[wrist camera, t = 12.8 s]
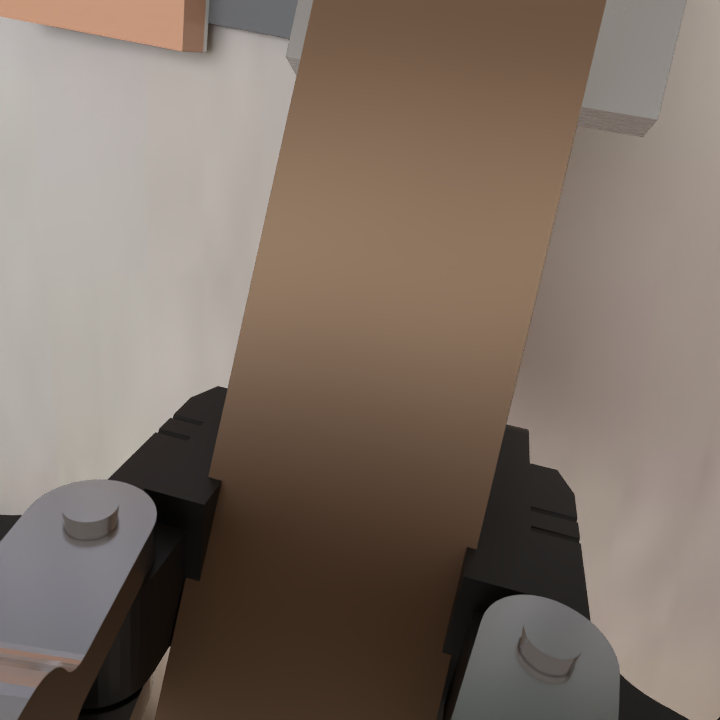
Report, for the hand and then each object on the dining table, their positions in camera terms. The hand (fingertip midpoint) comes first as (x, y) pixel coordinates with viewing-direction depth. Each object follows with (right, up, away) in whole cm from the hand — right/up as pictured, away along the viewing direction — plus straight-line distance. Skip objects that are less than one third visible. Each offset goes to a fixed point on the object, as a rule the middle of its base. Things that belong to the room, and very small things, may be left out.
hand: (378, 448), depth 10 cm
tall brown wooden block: (+1, +3, +1) cm, 3 cm away
